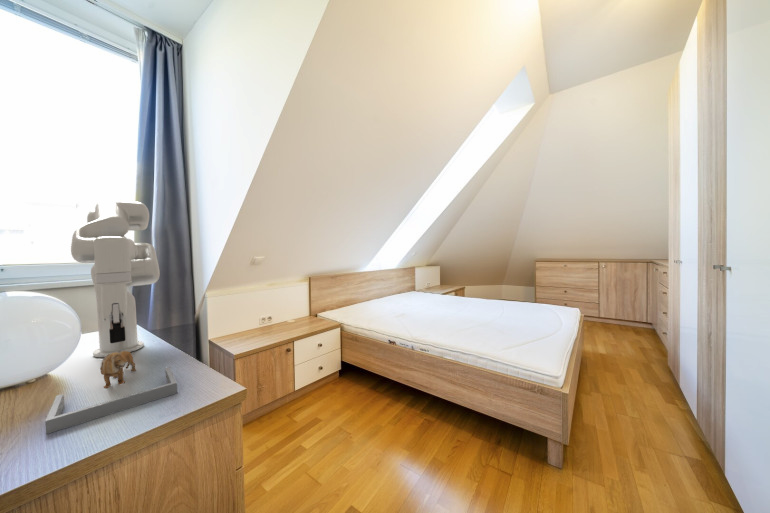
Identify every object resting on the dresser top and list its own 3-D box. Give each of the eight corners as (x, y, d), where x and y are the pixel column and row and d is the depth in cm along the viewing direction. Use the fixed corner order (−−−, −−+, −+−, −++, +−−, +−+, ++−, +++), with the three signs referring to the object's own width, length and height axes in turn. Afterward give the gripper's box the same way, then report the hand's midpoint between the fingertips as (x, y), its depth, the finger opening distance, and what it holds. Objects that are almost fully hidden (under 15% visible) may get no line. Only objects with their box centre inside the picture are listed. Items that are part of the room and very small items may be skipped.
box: (57, 406, 61) (56, 395, 61) (170, 375, 75) (169, 366, 75) (46, 434, 52) (45, 421, 52) (177, 393, 66) (176, 382, 66)
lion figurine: (127, 388, 69) (125, 352, 69) (97, 395, 66) (95, 358, 66) (137, 367, 81) (136, 337, 81) (113, 372, 78) (111, 341, 78)
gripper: (97, 279, 83) (100, 340, 83) (93, 281, 72) (97, 350, 72) (131, 277, 88) (134, 334, 88) (132, 278, 77) (136, 343, 77)
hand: (117, 341), depth 80 cm, fingers closed
